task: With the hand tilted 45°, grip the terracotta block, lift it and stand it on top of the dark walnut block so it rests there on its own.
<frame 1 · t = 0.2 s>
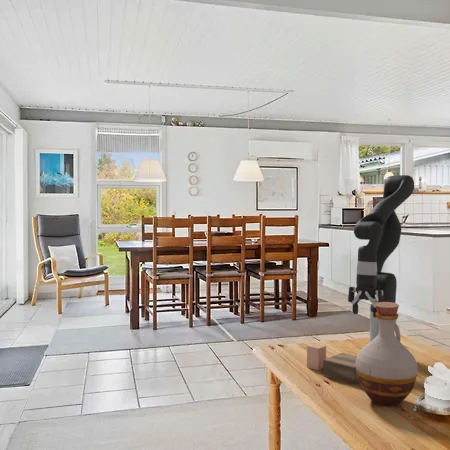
hand: (365, 315, 185), 18 cm above the table, tool pointing down, fingers open, 8 cm apart
terracotta block: (316, 367, 178), on the table
jug: (386, 401, 147), on the table
walnut block: (347, 376, 169), on the table
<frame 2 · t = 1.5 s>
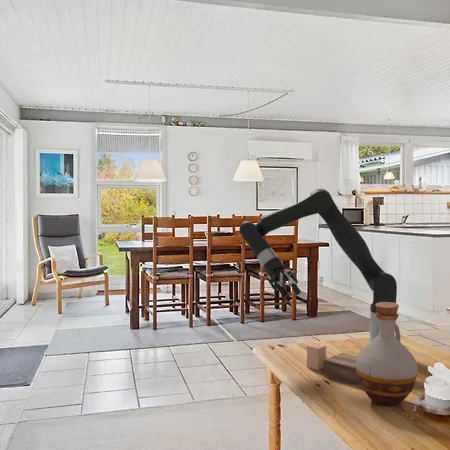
hand: (292, 295, 185), 26 cm above the table, tool tilted 45°, fingers open, 8 cm apart
nothing on the table moved.
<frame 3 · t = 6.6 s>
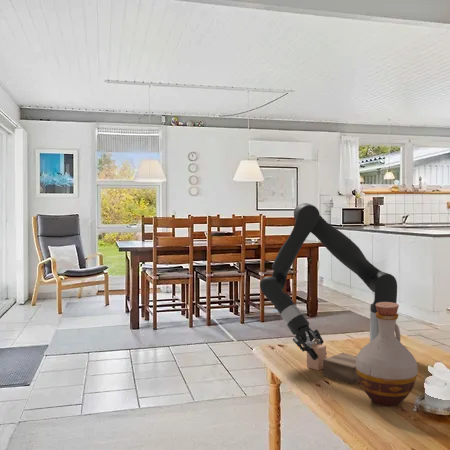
hand: (320, 357, 177), 4 cm above the table, tool tilted 45°, fingers closed on terracotta block, 5 cm apart
terracotta block: (316, 367, 178), on the table, touching gripper
everything else where it was.
when the fingers open (11 cm above the table, at t = 14.0 s): terracotta block stays where it is, resting on walnut block.
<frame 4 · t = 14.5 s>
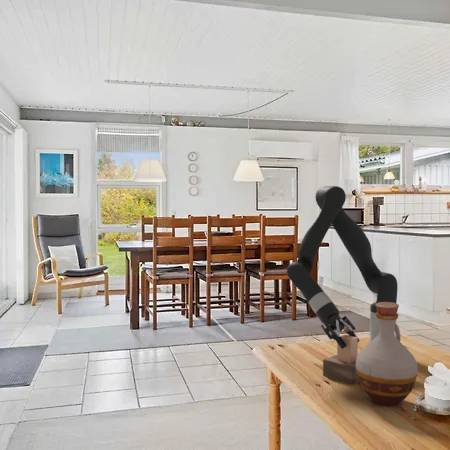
hand: (351, 344, 168), 11 cm above the table, tool tilted 45°, fingers open, 8 cm apart
terracotta block: (347, 359, 169), point 6 cm above the table, touching walnut block
walnut block: (347, 376, 169), on the table, touching terracotta block
everything else where it was.
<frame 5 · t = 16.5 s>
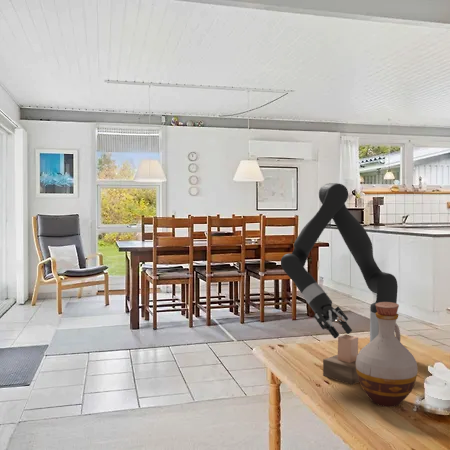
hand: (343, 334, 170), 14 cm above the table, tool tilted 45°, fingers open, 8 cm apart
nothing on the table moved.
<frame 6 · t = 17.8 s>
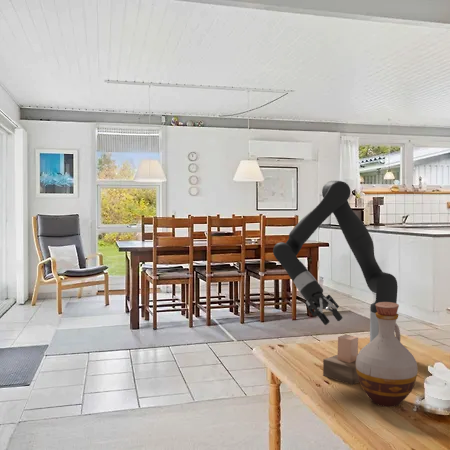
hand: (334, 321, 173), 18 cm above the table, tool tilted 45°, fingers open, 8 cm apart
nothing on the table moved.
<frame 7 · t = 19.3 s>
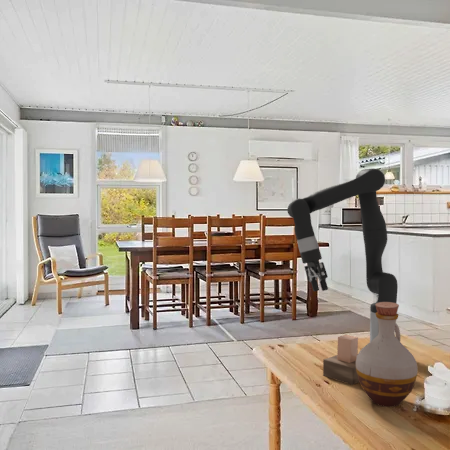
hand: (320, 290, 184), 27 cm above the table, tool tilted 15°, fingers open, 8 cm apart
terracotta block: (347, 359, 169), point 6 cm above the table
walnut block: (347, 377, 169), on the table
everything else where it was.
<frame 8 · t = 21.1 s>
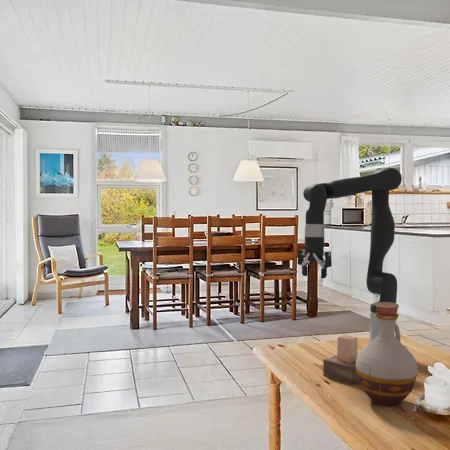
hand: (314, 277, 188), 32 cm above the table, tool pointing down, fingers open, 8 cm apart
nothing on the table moved.
at the end: terracotta block inside the target area on the walnut block (0.1 cm from its centre), point 6.0 cm above the walnut block's base; terracotta block tilted 0°; the gripper is holding nothing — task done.
